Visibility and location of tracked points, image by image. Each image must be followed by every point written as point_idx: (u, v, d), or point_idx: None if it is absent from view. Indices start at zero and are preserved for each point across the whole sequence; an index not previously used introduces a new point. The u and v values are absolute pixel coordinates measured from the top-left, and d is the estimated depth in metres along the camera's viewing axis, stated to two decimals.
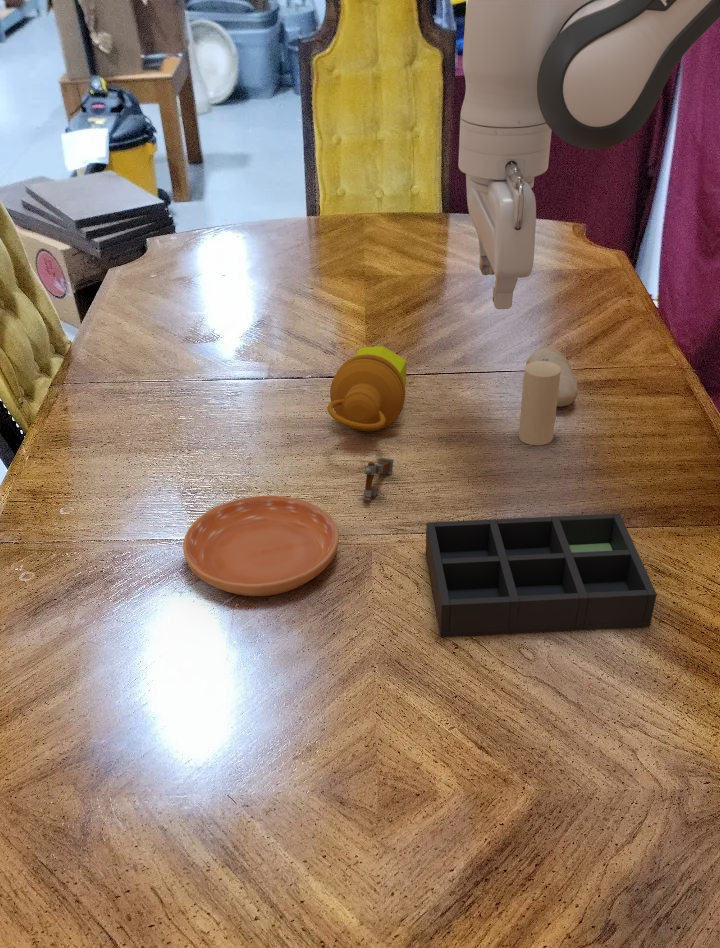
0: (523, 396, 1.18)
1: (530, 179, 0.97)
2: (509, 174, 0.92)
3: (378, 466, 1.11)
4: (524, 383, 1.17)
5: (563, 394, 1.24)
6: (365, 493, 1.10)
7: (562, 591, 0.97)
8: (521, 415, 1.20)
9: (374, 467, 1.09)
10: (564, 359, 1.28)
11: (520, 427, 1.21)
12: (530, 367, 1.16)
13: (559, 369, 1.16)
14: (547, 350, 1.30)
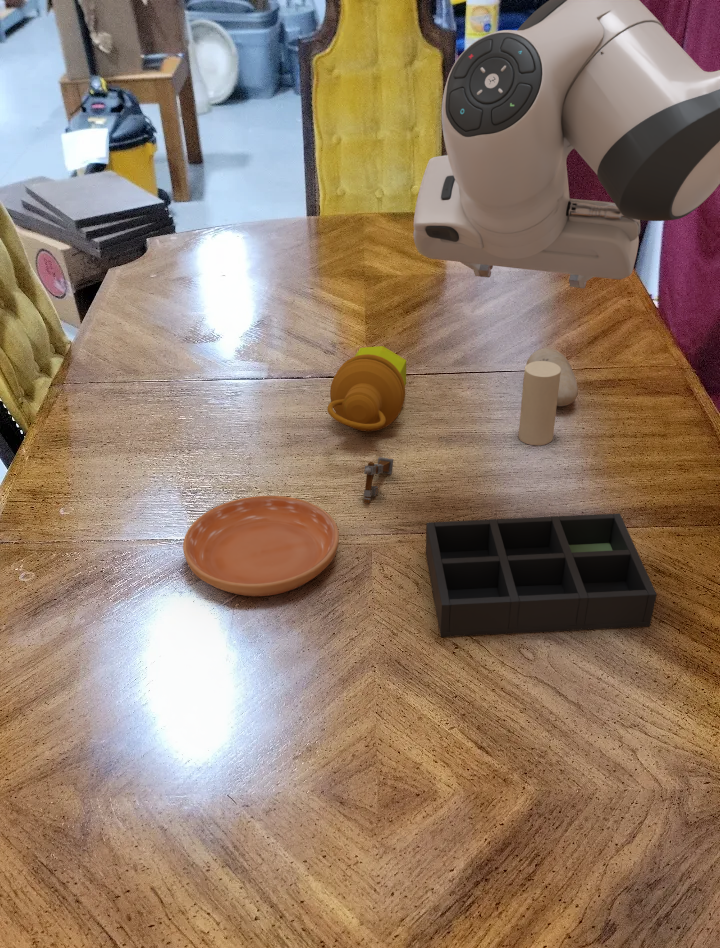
0: (523, 396, 1.18)
1: None
2: (590, 217, 0.83)
3: (378, 466, 1.11)
4: (524, 383, 1.17)
5: (563, 394, 1.24)
6: (365, 493, 1.10)
7: (562, 591, 0.97)
8: (521, 415, 1.20)
9: (373, 467, 1.09)
10: (564, 359, 1.28)
11: (520, 427, 1.21)
12: (530, 367, 1.16)
13: (559, 369, 1.16)
14: (547, 350, 1.30)
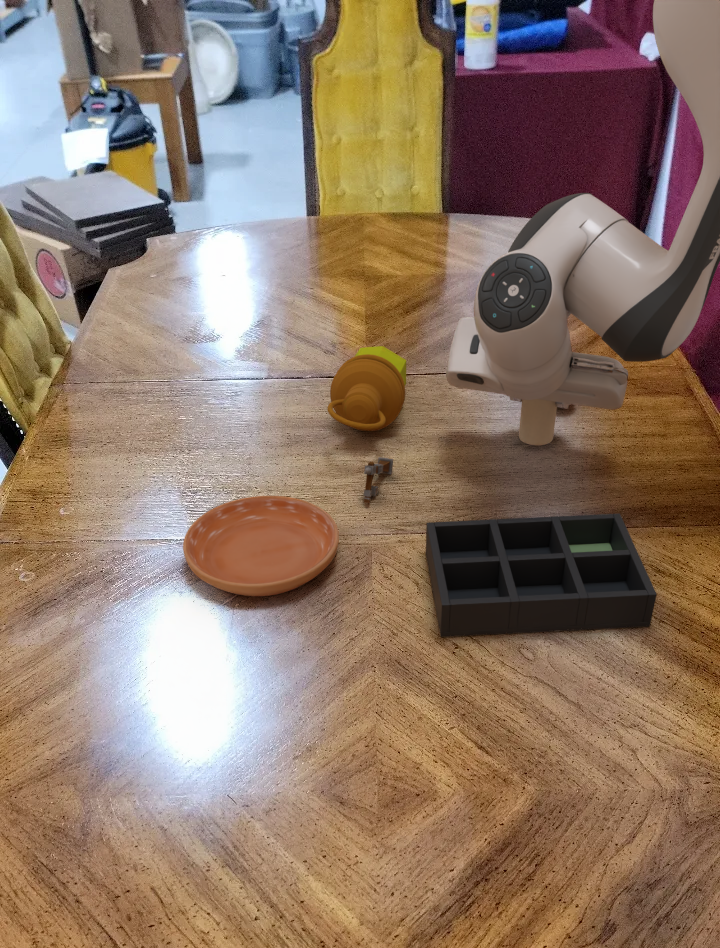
0: None
1: None
2: (588, 369, 1.05)
3: (378, 466, 1.11)
4: None
5: None
6: (365, 493, 1.10)
7: (562, 591, 0.97)
8: (521, 415, 1.20)
9: (374, 467, 1.09)
10: None
11: (520, 427, 1.21)
12: None
13: None
14: None
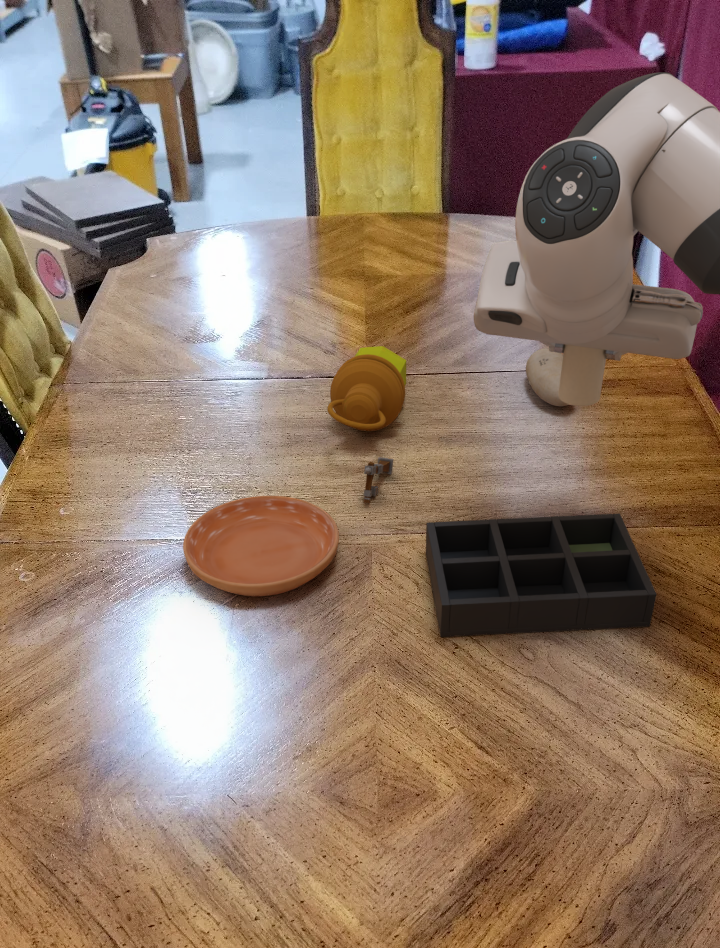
0: (566, 345, 0.97)
1: None
2: (653, 304, 0.84)
3: (378, 466, 1.11)
4: None
5: None
6: (365, 493, 1.10)
7: (562, 591, 0.97)
8: (563, 369, 0.99)
9: (373, 467, 1.09)
10: None
11: (561, 384, 1.00)
12: None
13: None
14: (547, 350, 1.30)
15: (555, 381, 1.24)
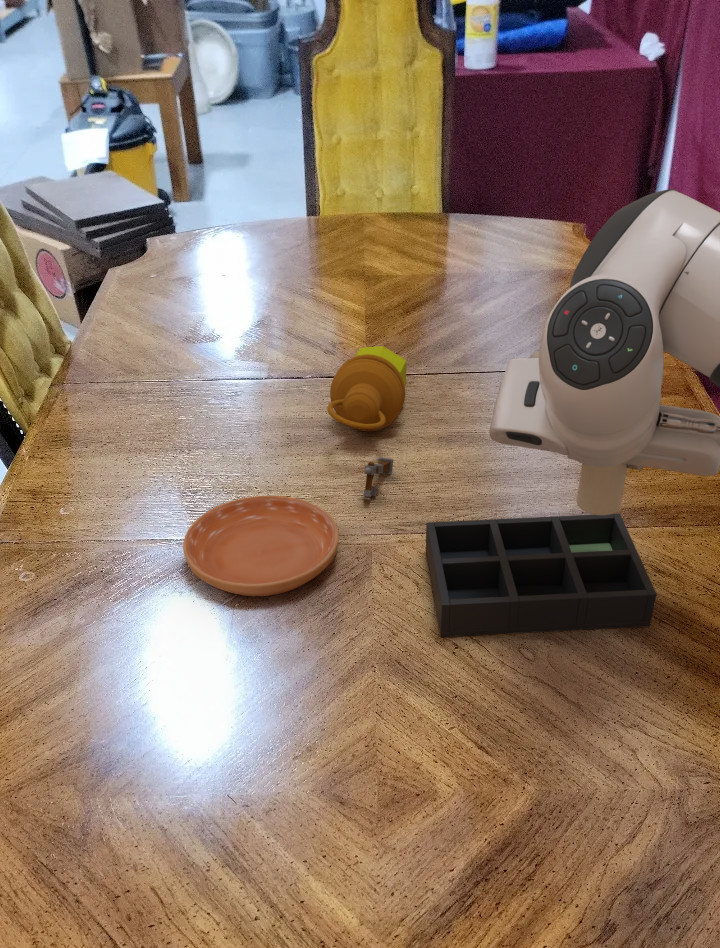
0: None
1: None
2: (681, 428, 0.79)
3: (378, 466, 1.11)
4: None
5: None
6: (365, 493, 1.10)
7: (562, 591, 0.97)
8: (582, 477, 0.94)
9: (373, 467, 1.09)
10: None
11: (580, 492, 0.95)
12: None
13: None
14: None
15: None
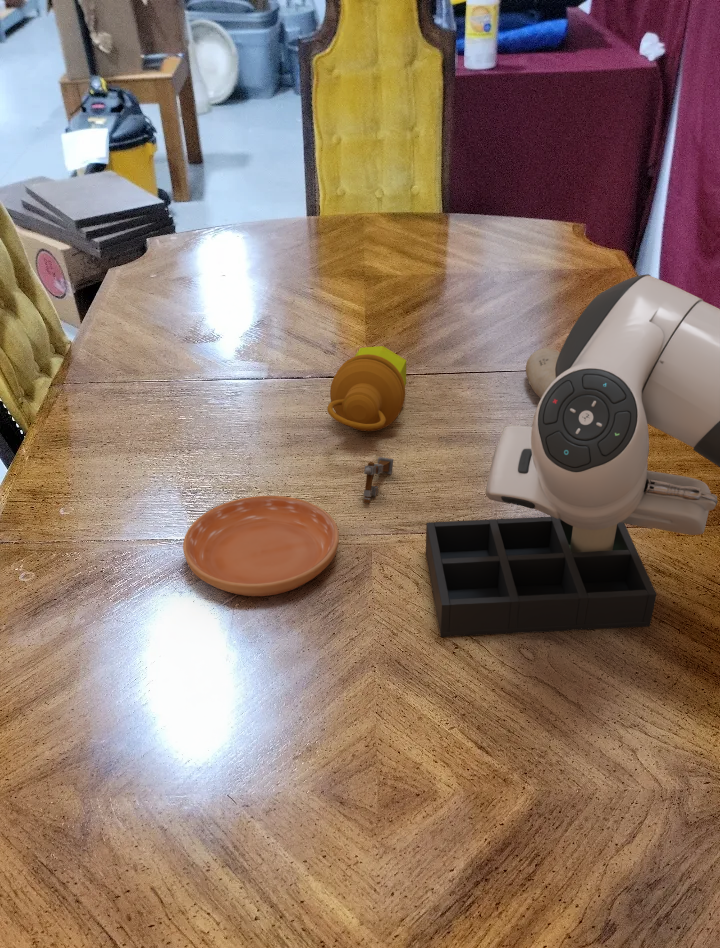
0: None
1: None
2: (668, 495, 0.83)
3: (378, 466, 1.11)
4: None
5: None
6: (365, 493, 1.10)
7: (562, 591, 0.97)
8: (573, 536, 0.99)
9: (373, 467, 1.09)
10: None
11: (571, 550, 1.00)
12: None
13: None
14: (547, 350, 1.30)
15: None
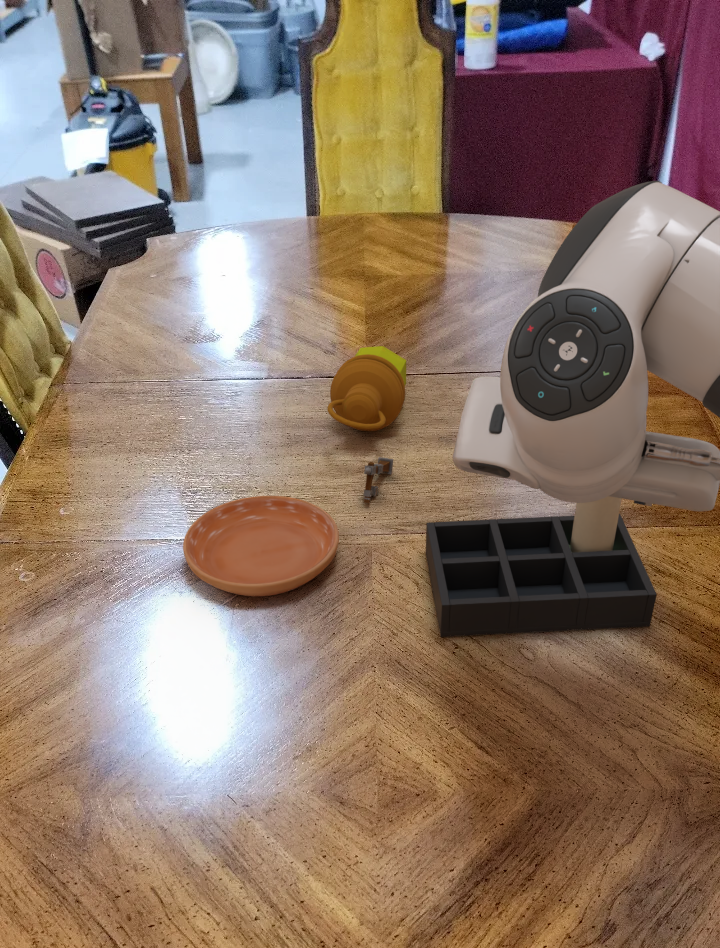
0: (576, 515, 0.97)
1: None
2: (671, 460, 0.68)
3: (378, 466, 1.11)
4: None
5: None
6: (365, 493, 1.10)
7: (562, 591, 0.97)
8: (573, 536, 0.99)
9: (373, 467, 1.09)
10: None
11: (571, 550, 1.00)
12: None
13: None
14: None
15: None
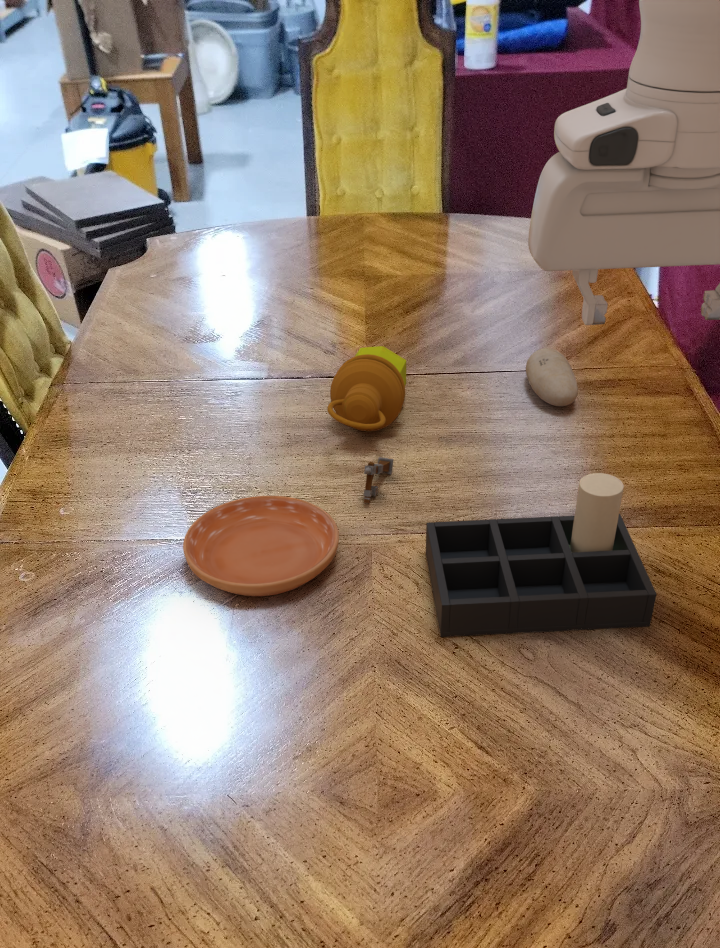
0: (576, 515, 0.97)
1: None
2: None
3: (378, 466, 1.11)
4: (578, 501, 0.96)
5: (563, 394, 1.24)
6: (365, 493, 1.10)
7: (562, 591, 0.97)
8: (573, 536, 0.99)
9: (373, 467, 1.09)
10: (564, 359, 1.28)
11: (571, 550, 1.00)
12: (586, 482, 0.95)
13: (622, 485, 0.95)
14: (547, 350, 1.30)
15: (555, 381, 1.24)
